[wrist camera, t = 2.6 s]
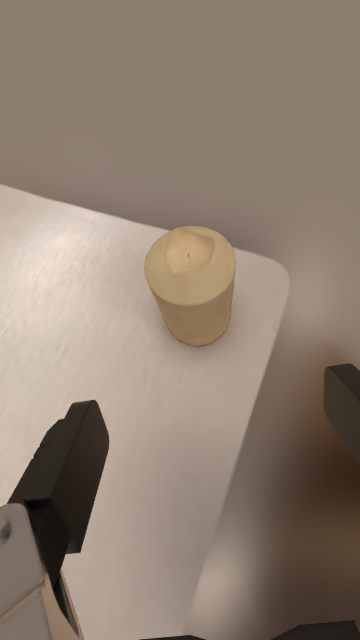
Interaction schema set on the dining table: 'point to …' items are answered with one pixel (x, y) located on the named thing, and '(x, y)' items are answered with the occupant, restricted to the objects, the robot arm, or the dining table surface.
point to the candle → (192, 282)
